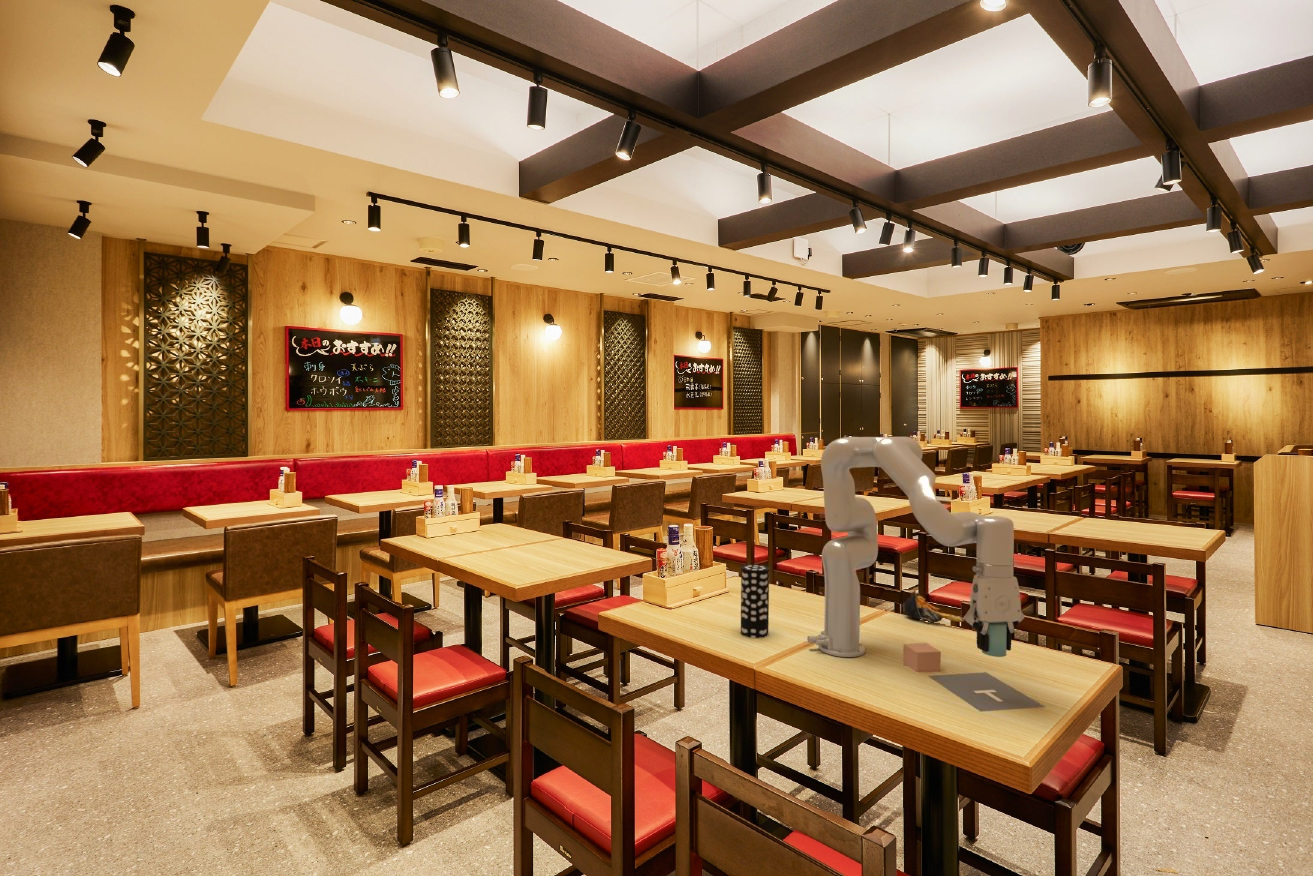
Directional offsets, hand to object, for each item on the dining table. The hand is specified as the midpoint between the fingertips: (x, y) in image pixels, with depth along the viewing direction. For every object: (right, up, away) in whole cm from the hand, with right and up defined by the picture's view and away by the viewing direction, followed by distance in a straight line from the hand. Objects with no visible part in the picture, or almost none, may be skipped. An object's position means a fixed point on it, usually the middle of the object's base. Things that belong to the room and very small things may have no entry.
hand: (993, 648), depth 148 cm
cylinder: (0, -1, 0) cm, 1 cm away
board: (-1, -12, +3) cm, 12 cm away
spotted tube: (-48, -11, +46) cm, 68 cm away
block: (-9, -12, +18) cm, 24 cm away
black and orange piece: (+11, -11, +59) cm, 61 cm away
